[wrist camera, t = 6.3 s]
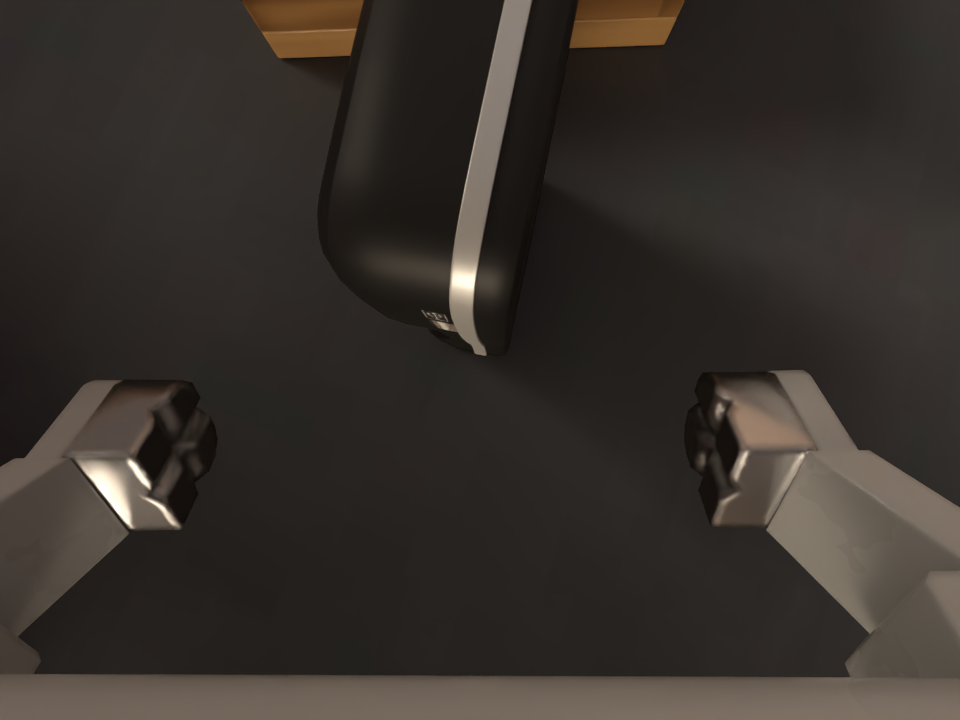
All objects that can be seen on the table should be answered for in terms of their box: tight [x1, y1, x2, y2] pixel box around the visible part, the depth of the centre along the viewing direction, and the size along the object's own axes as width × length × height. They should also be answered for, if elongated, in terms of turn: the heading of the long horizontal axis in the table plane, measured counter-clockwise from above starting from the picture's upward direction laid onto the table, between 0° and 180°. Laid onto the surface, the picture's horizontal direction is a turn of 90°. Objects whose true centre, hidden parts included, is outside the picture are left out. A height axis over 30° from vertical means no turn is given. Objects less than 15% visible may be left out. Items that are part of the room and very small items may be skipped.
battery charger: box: [317, 0, 579, 356], centre depth 14 cm, size 7×4×11 cm, turn 168°
